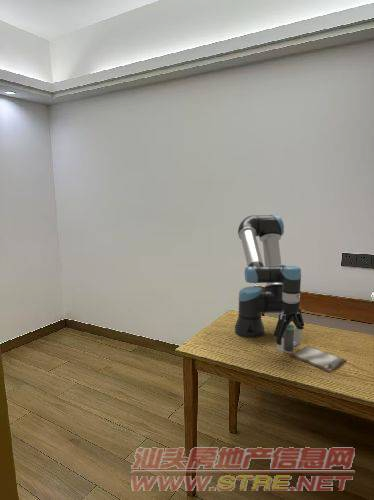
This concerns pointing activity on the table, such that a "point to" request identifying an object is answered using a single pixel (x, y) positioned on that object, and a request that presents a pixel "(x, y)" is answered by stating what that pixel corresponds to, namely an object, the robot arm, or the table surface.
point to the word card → (295, 344)
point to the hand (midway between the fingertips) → (288, 346)
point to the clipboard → (318, 358)
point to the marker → (289, 339)
